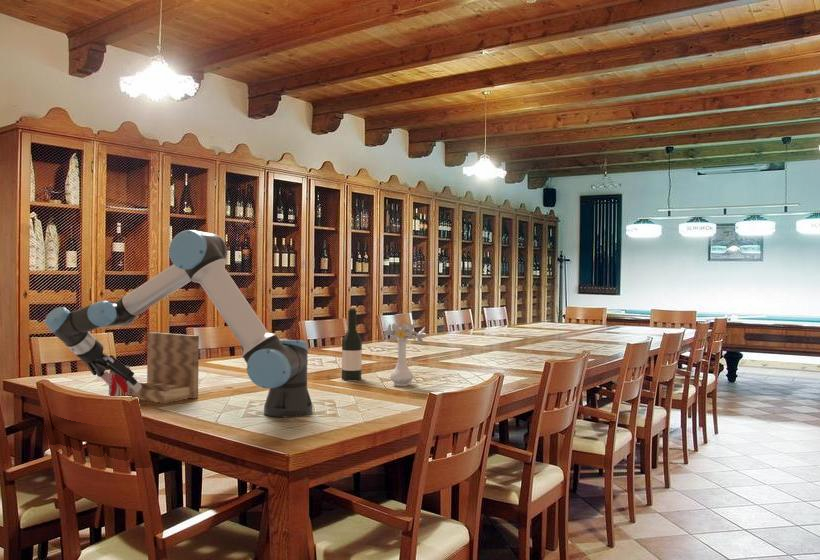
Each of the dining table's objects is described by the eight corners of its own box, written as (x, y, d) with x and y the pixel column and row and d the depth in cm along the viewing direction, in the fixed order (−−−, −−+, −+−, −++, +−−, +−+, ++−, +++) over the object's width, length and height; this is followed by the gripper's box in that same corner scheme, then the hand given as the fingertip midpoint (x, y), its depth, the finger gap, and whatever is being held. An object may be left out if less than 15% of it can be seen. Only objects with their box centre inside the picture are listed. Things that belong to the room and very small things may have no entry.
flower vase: (430, 385, 257) (431, 323, 257) (392, 389, 246) (393, 324, 246) (411, 380, 267) (412, 321, 267) (374, 384, 257) (375, 322, 257)
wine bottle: (365, 378, 271) (366, 308, 271) (353, 381, 264) (354, 309, 264) (349, 377, 275) (350, 307, 275) (337, 379, 268) (338, 308, 268)
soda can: (122, 404, 211) (123, 368, 211) (104, 403, 213) (104, 367, 213) (136, 400, 218) (136, 365, 218) (117, 399, 220) (118, 365, 220)
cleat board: (198, 398, 224) (198, 335, 224) (169, 404, 213) (169, 338, 213) (151, 391, 236) (152, 332, 235) (122, 397, 225) (122, 334, 225)
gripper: (55, 353, 208) (97, 393, 221) (102, 358, 196) (144, 400, 210) (70, 335, 212) (111, 376, 226) (117, 339, 201) (157, 381, 215)
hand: (127, 387), depth 218 cm, fingers open, 11 cm apart
